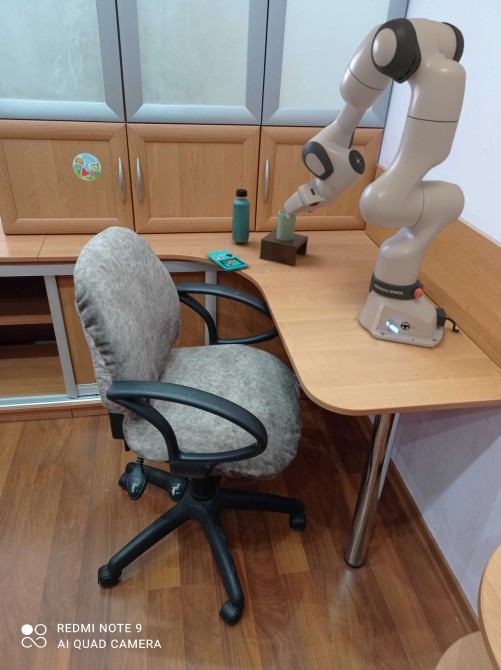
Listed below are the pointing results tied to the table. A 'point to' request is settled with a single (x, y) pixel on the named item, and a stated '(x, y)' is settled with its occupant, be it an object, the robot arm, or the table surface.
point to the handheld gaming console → (227, 260)
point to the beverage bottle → (241, 217)
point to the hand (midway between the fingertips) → (298, 213)
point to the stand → (283, 248)
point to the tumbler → (285, 226)
